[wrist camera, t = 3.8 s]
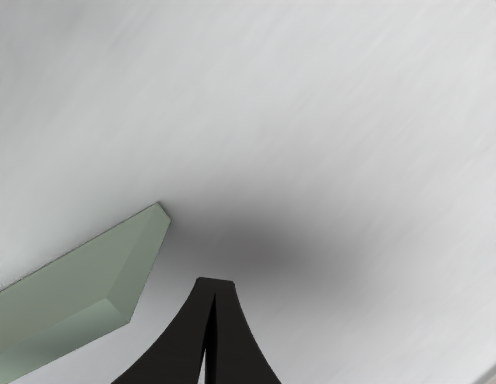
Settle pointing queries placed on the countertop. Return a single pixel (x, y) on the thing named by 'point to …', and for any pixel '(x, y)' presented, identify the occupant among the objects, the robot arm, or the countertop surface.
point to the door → (78, 295)
